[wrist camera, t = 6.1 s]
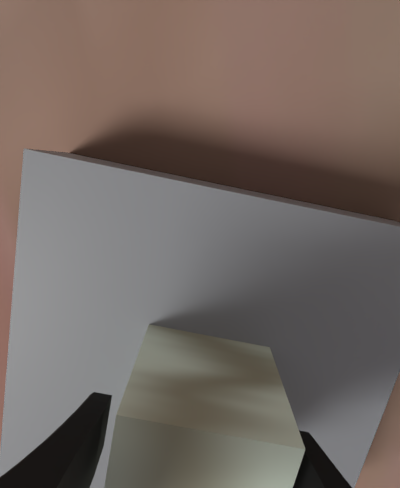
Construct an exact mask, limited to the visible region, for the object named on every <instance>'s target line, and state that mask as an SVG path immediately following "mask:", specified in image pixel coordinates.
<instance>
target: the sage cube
mask: <svg viewBox="0 0 400 488" xmlns="http://www.w3.org/2000/svg"><path fill="white" fill-rule="evenodd" d="M304 452H305V446H304V444H303V441H302V438H301V435H300V432H299V429H298V426H297V424H296V421H295V418H294V415H293V412H292V409H291V406H290V404H289V401H288V398H287V395H286V392H285V389H284V386H283V384H282V381H281V378H280V375H279V372H278V369H277V367H276V364H275V361H274V358H273V355H272V352H271V349H270V347H266V346H260V345H255V344H250V343H245V342H239V341H234V340H229V339H224V338H218V337H213V336H208V335H203V334H197V333H192V332H187V331H182V330H176V329H171V328H166V327H161V326H155V325H150V324H149V325H148V328H147V331H146V334H145V336H144V339H143V342H142V345H141V347H140V350H139V353H138V356H137V359H136V361H135V364H134V367H133V370H132V372H131V375H130V378H129V381H128V384H127V386H126V389H125V392H124V395H123V398H122V400H121V403H120V406H119V409H118V411H117V414H116V419H115V425H114V432H113V438H112V444H111V450H110V456H109V462H108V468H107V474H106V480H105V486H104V488H293V486H294V483H295V480H296V477H297V474H298V471H299V468H300V465H301V462H302V459H303V455H304Z"/></svg>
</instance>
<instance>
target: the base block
mask: <svg viewBox="0 0 400 488" xmlns="http://www.w3.org/2000/svg"><path fill="white" fill-rule="evenodd" d="M149 324H150V325H155V326H161V327H166V328H171V329H176V330H182V331H187V332H192V333H197V334H203V335H208V336H213V337H218V338H224V339H229V340H234V341H239V342H245V343H250V344H255V345H260V346H266V347H270V349H271V352H272V355H273V358H274V361H275V364H276V367H277V369H278V372H279V375H280V378H281V381H282V384H283V386H284V389H285V392H286V395H287V398H288V401H289V404H290V406H291V409H292V412H293V415H294V418H295V421H296V424H297V426H298V429H299V430H300V431H305V432H309V433H310V434H311V436H312V437H313V438H314V439H315V441H316V442H317V443H318V444H319V446H320V447H321V448H322V450H323V451H324V452H325V454H326V455H327V456H328V458H329V459H330V460H331V461H332V463H333V464H334V465H335V467H336V468H337V469H338V471H339V472H340V473H341V474H342V476H343V477H344V478H345V479H346V481H347V482H348V483H349V484H350V486H351V487H352V488H354V487H355V485H356V482H357V480H358V477H359V474H360V472H361V469H362V467H363V464H364V462H365V459H366V456H367V454H368V451H369V449H370V446H371V444H372V441H373V438H374V436H375V433H376V431H377V428H378V426H379V423H380V420H381V418H382V415H383V413H384V410H385V408H386V405H387V402H388V400H389V397H390V395H391V392H392V390H393V387H394V384H395V382H396V379H397V377H398V374H399V372H400V222H397V221H393V220H389V219H384V218H379V217H374V216H370V215H365V214H360V213H355V212H350V211H346V210H341V209H336V208H331V207H326V206H322V205H317V204H312V203H307V202H302V201H298V200H293V199H288V198H283V197H278V196H274V195H269V194H264V193H259V192H254V191H250V190H245V189H240V188H235V187H230V186H226V185H221V184H216V183H211V182H206V181H201V180H197V179H192V178H187V177H182V176H177V175H173V174H168V173H163V172H158V171H153V170H149V169H144V168H139V167H134V166H129V165H125V164H120V163H115V162H110V161H105V160H101V159H96V158H91V157H86V156H81V155H77V154H72V153H65V152H54V151H44V150H33V149H24V153H23V166H22V179H21V191H20V204H19V217H18V230H17V243H16V256H15V269H14V282H13V295H12V308H11V320H10V333H9V346H8V359H7V372H6V385H5V398H4V411H3V424H2V436H1V449H0V477H1V476H2V475H4V474H5V473H6V472H7V471H9V470H10V469H11V468H13V467H14V466H15V465H16V464H18V463H19V462H20V461H21V460H23V459H24V458H25V457H26V456H27V455H28V454H30V453H31V452H32V451H33V450H34V449H35V448H37V447H38V446H39V445H40V444H41V443H42V442H43V441H45V440H46V439H47V438H48V437H49V436H50V435H51V434H52V433H53V432H54V431H55V430H56V429H57V428H59V427H60V426H61V425H62V424H63V423H64V422H65V421H66V420H67V419H68V418H69V417H70V416H71V415H72V414H73V413H74V412H75V411H76V410H77V409H78V408H79V406H80V405H81V404H82V403H83V402H84V401H85V400H86V399H87V398H88V396H89V395H90V394H92V393H93V392H97V393H103V394H108V395H112V399H111V405H110V411H109V417H108V423H107V430H106V436H105V442H104V447H103V450H102V453H101V456H100V459H99V462H98V466H97V469H96V472H95V475H94V478H93V480H92V483H91V485H90V487H89V488H104V486H105V480H106V474H107V468H108V462H109V456H110V450H111V444H112V438H113V432H114V425H115V419H116V414H117V411H118V409H119V406H120V403H121V400H122V398H123V395H124V392H125V389H126V386H127V384H128V381H129V378H130V375H131V372H132V370H133V367H134V364H135V361H136V359H137V356H138V353H139V350H140V347H141V345H142V342H143V339H144V336H145V334H146V331H147V328H148V325H149Z"/></svg>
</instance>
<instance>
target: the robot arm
mask: <svg viewBox="0 0 400 488" xmlns="http://www.w3.org/2000/svg"><path fill="white" fill-rule="evenodd" d="M111 399H112V395H108V394H103V393H97V392H93V393H92V394H90V395H89V396H88V398H87V399H86V400H85V401H84V402H83V403H82V404H81V405H80V406H79V408H78V409H77V410H76V411H75V412H74V413H73V414H72V415H71V416H70V417H69V418H68V419H67V420H66V421H65V422H64V423H63V424H62V425H61V426H60V427H59V428H57V429H56V430H55V431H54V432H53V433H52V434H51V435H50V436H49V437H48V438H47V439H46V440H45V441H43V442H42V443H41V444H40V445H39V446H38V447H37V448H35V449H34V450H33V451H32V452H31V453H30V454H28V455H27V456H26V457H25V458H24V459H23V460H21V461H20V462H19V463H18V464H16V465H15V466H14V467H13V468H11V469H10V470H9V471H7V472H6V473H5V474H4V475H2V476H1V477H0V488H89V487H90V485H91V483H92V480H93V478H94V475H95V472H96V469H97V466H98V462H99V459H100V456H101V453H102V450H103V447H104V442H105V436H106V430H107V423H108V417H109V411H110V405H111ZM299 432H300V435H301V438H302V441H303V444H304V446H305V452H304V455H303V459H302V462H301V465H300V468H299V471H298V474H297V477H296V480H295V483H294V486H293V488H352V487H351V486H350V484H349V483H348V482H347V481H346V479H345V478H344V477H343V476H342V474H341V473H340V472H339V471H338V469H337V468H336V467H335V465H334V464H333V463H332V461H331V460H330V459H329V458H328V456H327V455H326V454H325V452H324V451H323V450H322V448H321V447H320V446H319V444H318V443H317V442H316V441H315V439H314V438H313V437H312V436H311V434H310V433H309V432H305V431H300V430H299Z"/></svg>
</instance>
